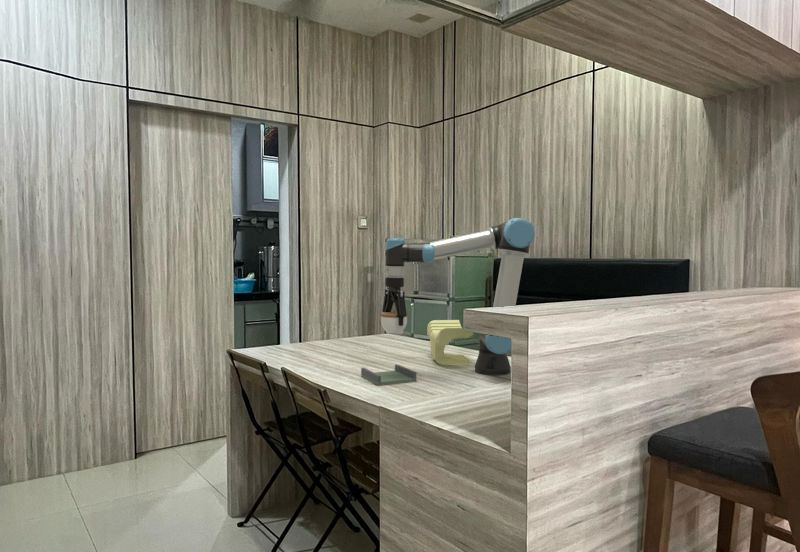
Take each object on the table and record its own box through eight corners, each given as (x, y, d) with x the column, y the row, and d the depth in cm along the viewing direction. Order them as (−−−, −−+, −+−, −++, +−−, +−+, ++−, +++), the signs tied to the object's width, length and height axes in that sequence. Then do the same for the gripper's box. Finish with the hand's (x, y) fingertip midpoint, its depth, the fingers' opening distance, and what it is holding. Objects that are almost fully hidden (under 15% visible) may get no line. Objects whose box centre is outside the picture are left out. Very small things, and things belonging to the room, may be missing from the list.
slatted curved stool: (427, 356, 263) (427, 320, 263) (458, 355, 265) (459, 319, 264) (438, 368, 233) (438, 328, 233) (474, 367, 235) (474, 327, 235)
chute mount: (397, 373, 224) (397, 364, 224) (416, 381, 209) (416, 372, 209) (361, 376, 217) (361, 367, 217) (378, 385, 201) (378, 376, 201)
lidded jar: (377, 333, 210) (377, 309, 209) (384, 330, 220) (385, 307, 220) (403, 335, 207) (403, 311, 207) (409, 331, 217) (410, 308, 217)
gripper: (374, 275, 222) (373, 328, 222) (398, 278, 201) (397, 336, 201) (391, 276, 225) (390, 328, 226) (416, 278, 204) (415, 335, 205)
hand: (393, 332), depth 214 cm, fingers closed on lidded jar, 11 cm apart
